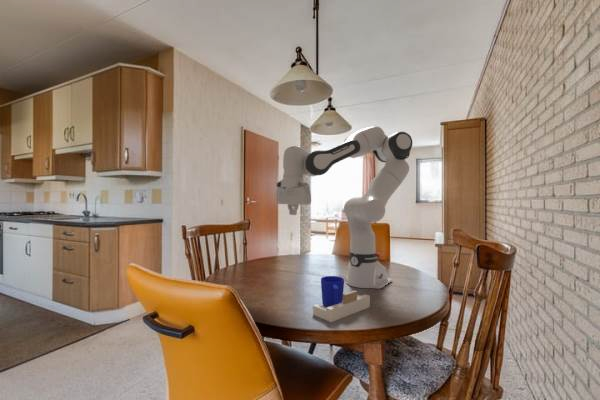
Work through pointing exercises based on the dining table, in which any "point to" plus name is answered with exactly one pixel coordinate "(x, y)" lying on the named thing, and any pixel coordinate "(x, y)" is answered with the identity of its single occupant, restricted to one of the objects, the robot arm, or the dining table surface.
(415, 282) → the dining table surface
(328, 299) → the mug
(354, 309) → the beige blocky open frame
